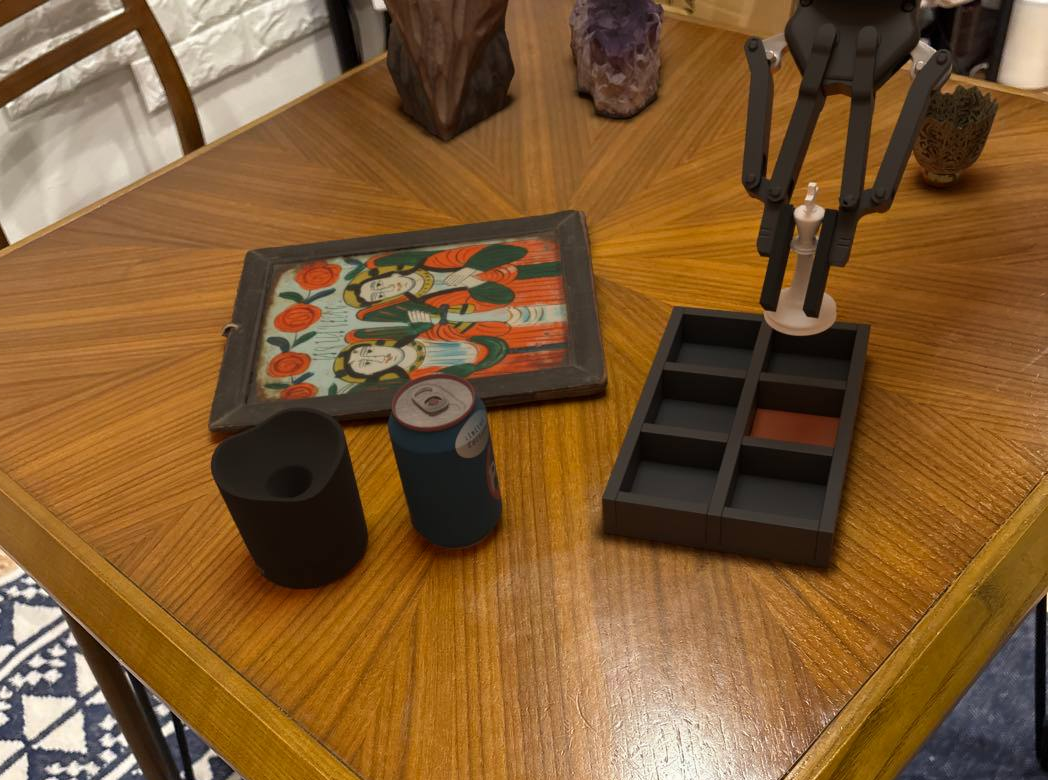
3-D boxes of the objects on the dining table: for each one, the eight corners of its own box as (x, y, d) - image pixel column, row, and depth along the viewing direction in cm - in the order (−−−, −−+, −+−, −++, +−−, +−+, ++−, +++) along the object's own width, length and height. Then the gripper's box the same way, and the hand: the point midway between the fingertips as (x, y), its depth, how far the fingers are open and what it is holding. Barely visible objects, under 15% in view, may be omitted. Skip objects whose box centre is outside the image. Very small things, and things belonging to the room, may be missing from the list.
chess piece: (754, 329, 77) (762, 199, 69) (775, 289, 79) (785, 160, 72) (826, 341, 75) (841, 209, 67) (844, 300, 78) (861, 169, 70)
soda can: (522, 525, 82) (503, 401, 74) (445, 570, 80) (417, 448, 71) (471, 477, 87) (447, 354, 78) (396, 519, 84) (363, 398, 76)
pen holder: (268, 505, 87) (231, 408, 80) (384, 504, 86) (357, 405, 78) (237, 596, 81) (193, 500, 73) (361, 597, 79) (329, 499, 72)
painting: (622, 402, 92) (621, 379, 90) (209, 454, 93) (200, 433, 91) (584, 218, 110) (583, 196, 108) (241, 264, 112) (234, 243, 110)
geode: (687, 112, 123) (675, 25, 116) (585, 138, 125) (567, 53, 118) (663, 31, 137) (651, -52, 129) (572, 55, 139) (555, -26, 131)
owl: (390, 106, 133) (355, -74, 118) (479, 71, 136) (456, -107, 122) (441, 143, 125) (410, -45, 110) (535, 105, 129) (516, -81, 114)
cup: (977, 160, 110) (994, 82, 104) (986, 200, 105) (1004, 119, 99) (899, 162, 111) (911, 84, 105) (903, 200, 106) (916, 121, 100)
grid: (865, 359, 91) (871, 323, 88) (828, 568, 76) (833, 533, 74) (674, 339, 95) (674, 305, 93) (604, 533, 81) (601, 498, 78)
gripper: (995, -24, 71) (909, 338, 73) (763, -33, 76) (689, 304, 79) (1002, -83, 64) (907, 318, 66) (745, -89, 69) (665, 283, 72)
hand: (789, 310), depth 73 cm, fingers closed on chess piece, 2 cm apart
